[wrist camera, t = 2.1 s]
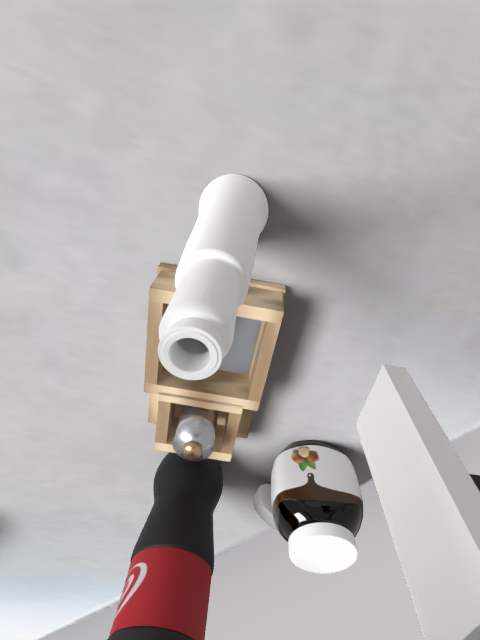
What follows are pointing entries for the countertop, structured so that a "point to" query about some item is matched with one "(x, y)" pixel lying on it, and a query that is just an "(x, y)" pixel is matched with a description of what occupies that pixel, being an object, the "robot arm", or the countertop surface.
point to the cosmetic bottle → (212, 277)
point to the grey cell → (195, 433)
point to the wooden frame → (228, 381)
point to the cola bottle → (172, 556)
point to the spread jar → (314, 506)
